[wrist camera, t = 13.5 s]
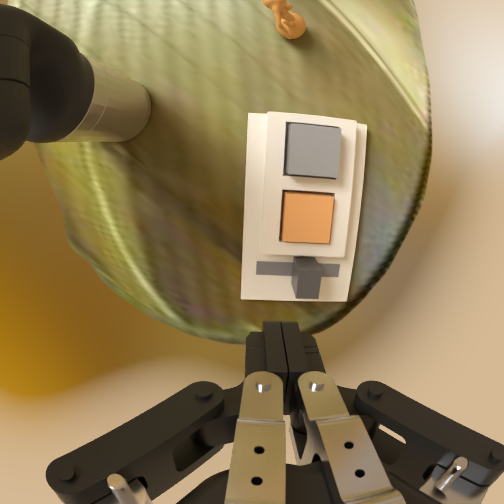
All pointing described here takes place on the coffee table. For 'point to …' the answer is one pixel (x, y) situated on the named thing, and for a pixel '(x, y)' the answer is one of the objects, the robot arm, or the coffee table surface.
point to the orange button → (306, 217)
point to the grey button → (313, 150)
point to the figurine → (286, 19)
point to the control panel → (270, 209)
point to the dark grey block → (306, 277)
